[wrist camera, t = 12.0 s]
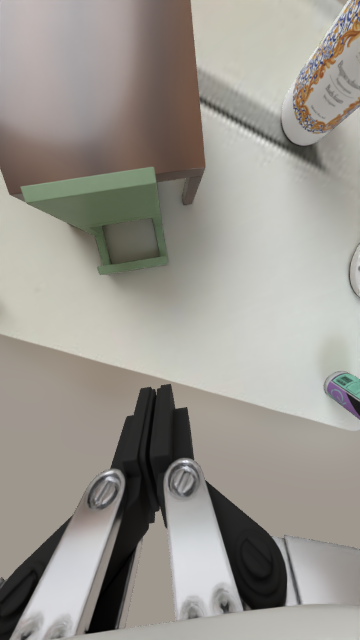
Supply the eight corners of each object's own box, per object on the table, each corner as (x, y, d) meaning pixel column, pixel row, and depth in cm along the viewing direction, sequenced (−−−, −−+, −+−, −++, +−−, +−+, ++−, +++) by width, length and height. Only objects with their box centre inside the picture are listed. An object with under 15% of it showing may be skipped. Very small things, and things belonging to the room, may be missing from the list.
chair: (148, 143, 22) (123, -18, 10) (168, 264, 26) (169, 258, 14) (75, 154, 22) (-44, 3, 10) (106, 274, 26) (51, 278, 14)
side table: (179, 88, 21) (187, -37, 13) (192, 203, 24) (205, 167, 16) (33, 107, 21) (-63, -9, 12) (66, 222, 24) (9, 194, 15)
